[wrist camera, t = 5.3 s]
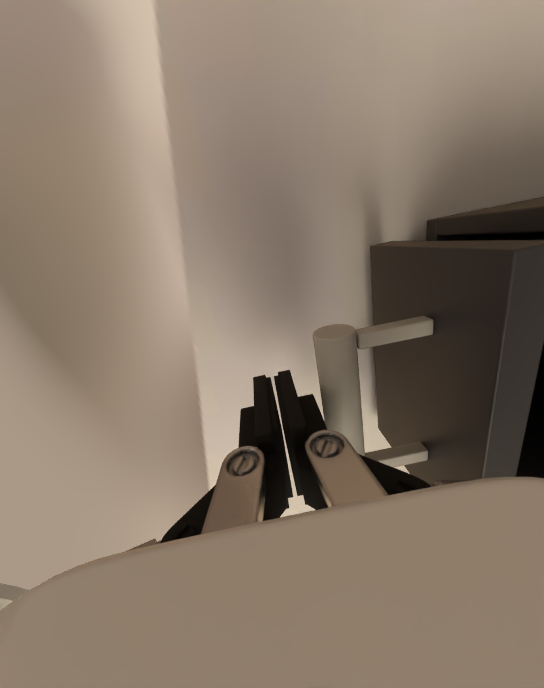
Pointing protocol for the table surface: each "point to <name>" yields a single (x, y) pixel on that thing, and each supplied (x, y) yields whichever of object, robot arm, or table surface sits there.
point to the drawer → (447, 358)
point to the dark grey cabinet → (489, 222)
